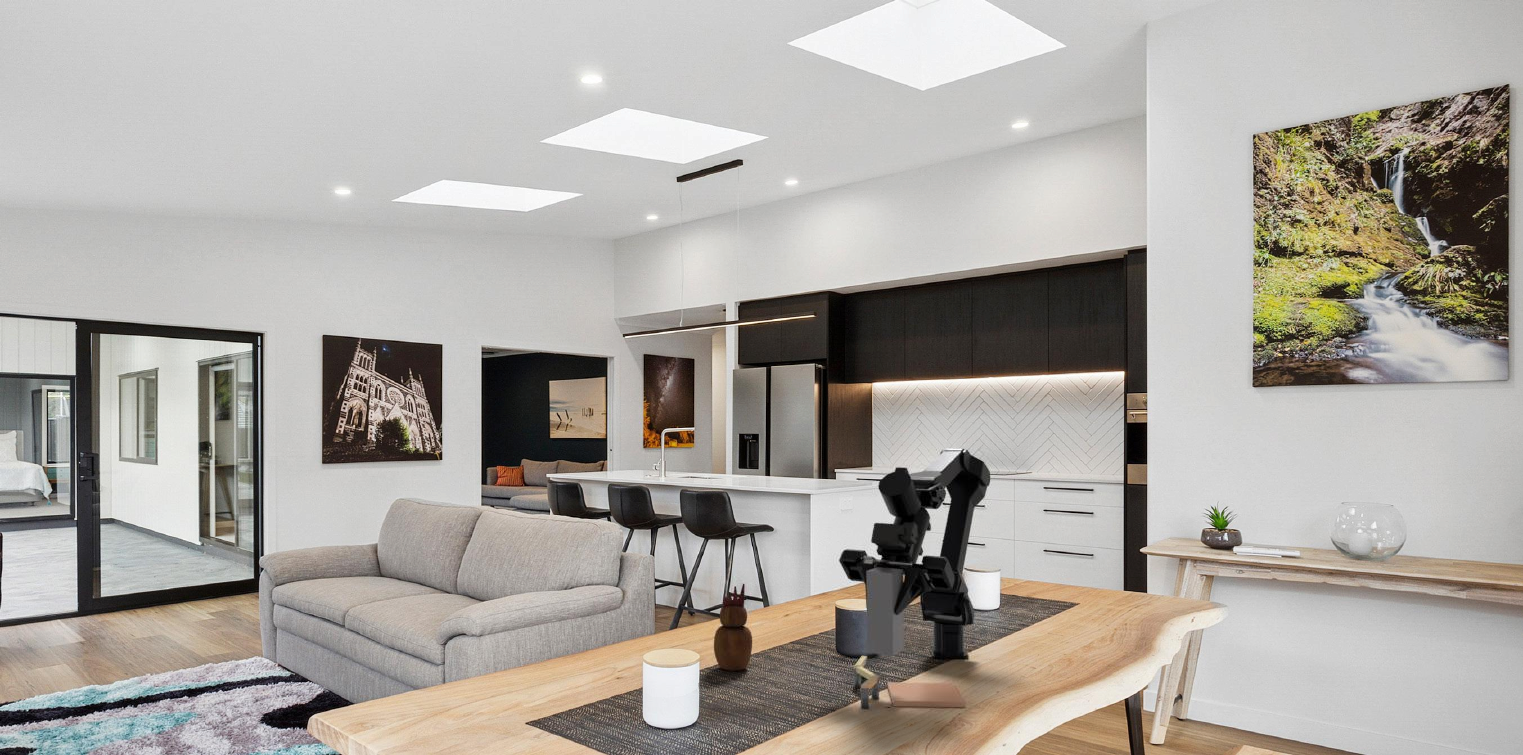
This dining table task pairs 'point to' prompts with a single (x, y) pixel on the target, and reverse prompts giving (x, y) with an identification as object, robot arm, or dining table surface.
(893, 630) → the gray pillar
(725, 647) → the wooden figurine
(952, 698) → the terracotta tile
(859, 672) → the bent wire
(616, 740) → the dining table surface
